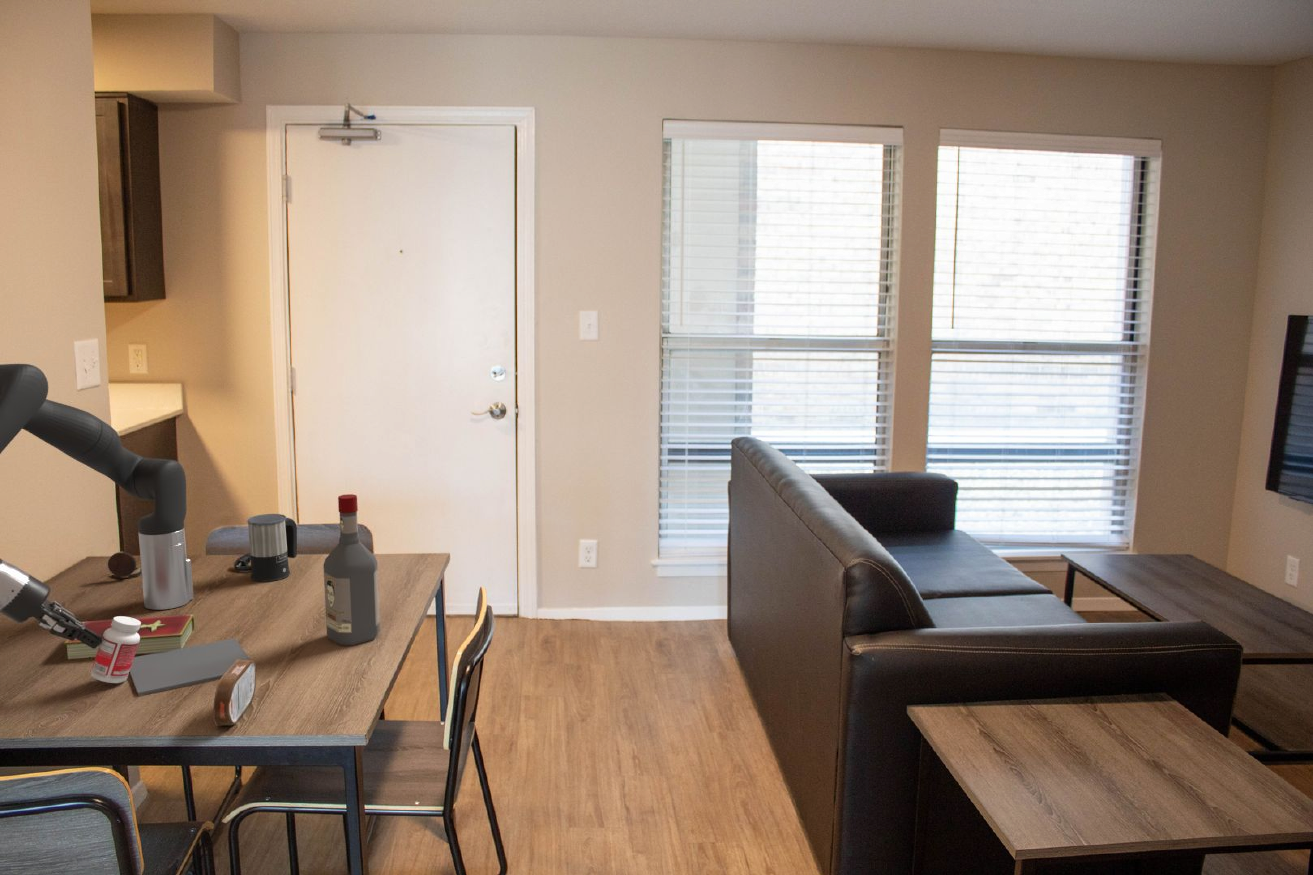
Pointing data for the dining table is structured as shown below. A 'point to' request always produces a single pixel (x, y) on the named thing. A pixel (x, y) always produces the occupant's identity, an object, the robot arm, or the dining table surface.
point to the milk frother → (269, 547)
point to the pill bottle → (117, 650)
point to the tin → (234, 692)
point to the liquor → (351, 583)
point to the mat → (184, 666)
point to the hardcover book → (141, 635)
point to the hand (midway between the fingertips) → (98, 643)
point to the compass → (123, 566)
